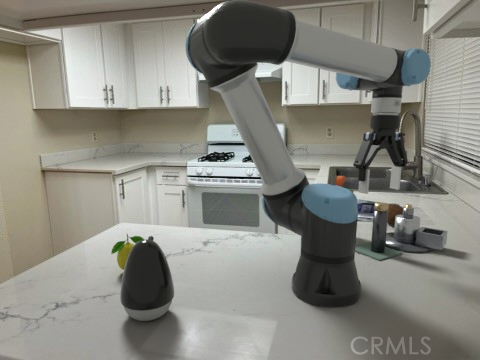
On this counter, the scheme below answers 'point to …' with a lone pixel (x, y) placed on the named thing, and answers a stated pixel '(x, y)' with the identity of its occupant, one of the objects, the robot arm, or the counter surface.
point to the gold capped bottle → (379, 227)
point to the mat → (378, 256)
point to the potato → (393, 213)
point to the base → (404, 245)
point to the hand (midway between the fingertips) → (379, 190)
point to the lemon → (124, 250)
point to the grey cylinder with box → (417, 231)
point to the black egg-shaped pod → (146, 282)
